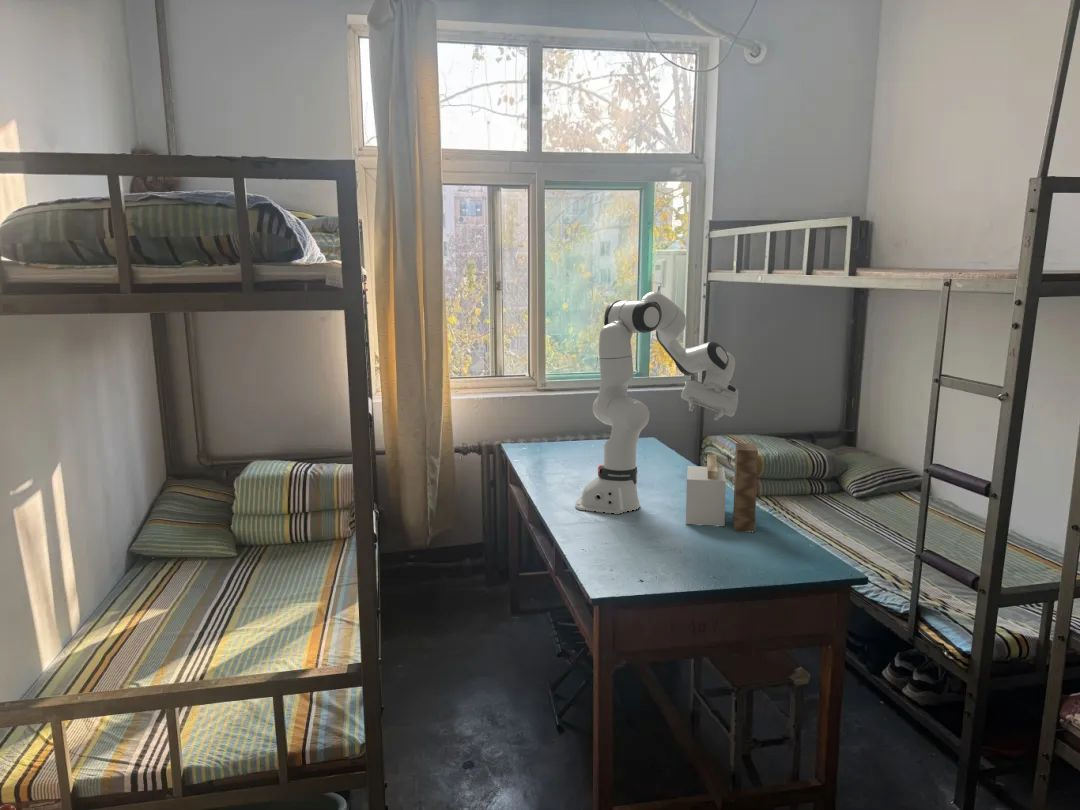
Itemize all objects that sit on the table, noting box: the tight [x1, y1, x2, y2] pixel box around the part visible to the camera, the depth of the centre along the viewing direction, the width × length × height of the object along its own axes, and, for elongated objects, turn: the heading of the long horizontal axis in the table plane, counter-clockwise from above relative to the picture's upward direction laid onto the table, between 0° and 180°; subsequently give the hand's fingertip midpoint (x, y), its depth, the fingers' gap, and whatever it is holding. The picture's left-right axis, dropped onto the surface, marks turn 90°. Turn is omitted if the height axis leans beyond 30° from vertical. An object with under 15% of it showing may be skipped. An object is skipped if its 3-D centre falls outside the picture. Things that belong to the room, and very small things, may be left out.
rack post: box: [732, 442, 759, 533], centre depth 229 cm, size 6×10×26 cm, turn 168°
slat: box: [706, 453, 718, 479], centre depth 243 cm, size 3×24×2 cm, turn 168°
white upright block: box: [685, 465, 727, 527], centre depth 240 cm, size 12×18×15 cm, turn 168°
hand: (703, 414), depth 259 cm, fingers open, 8 cm apart
